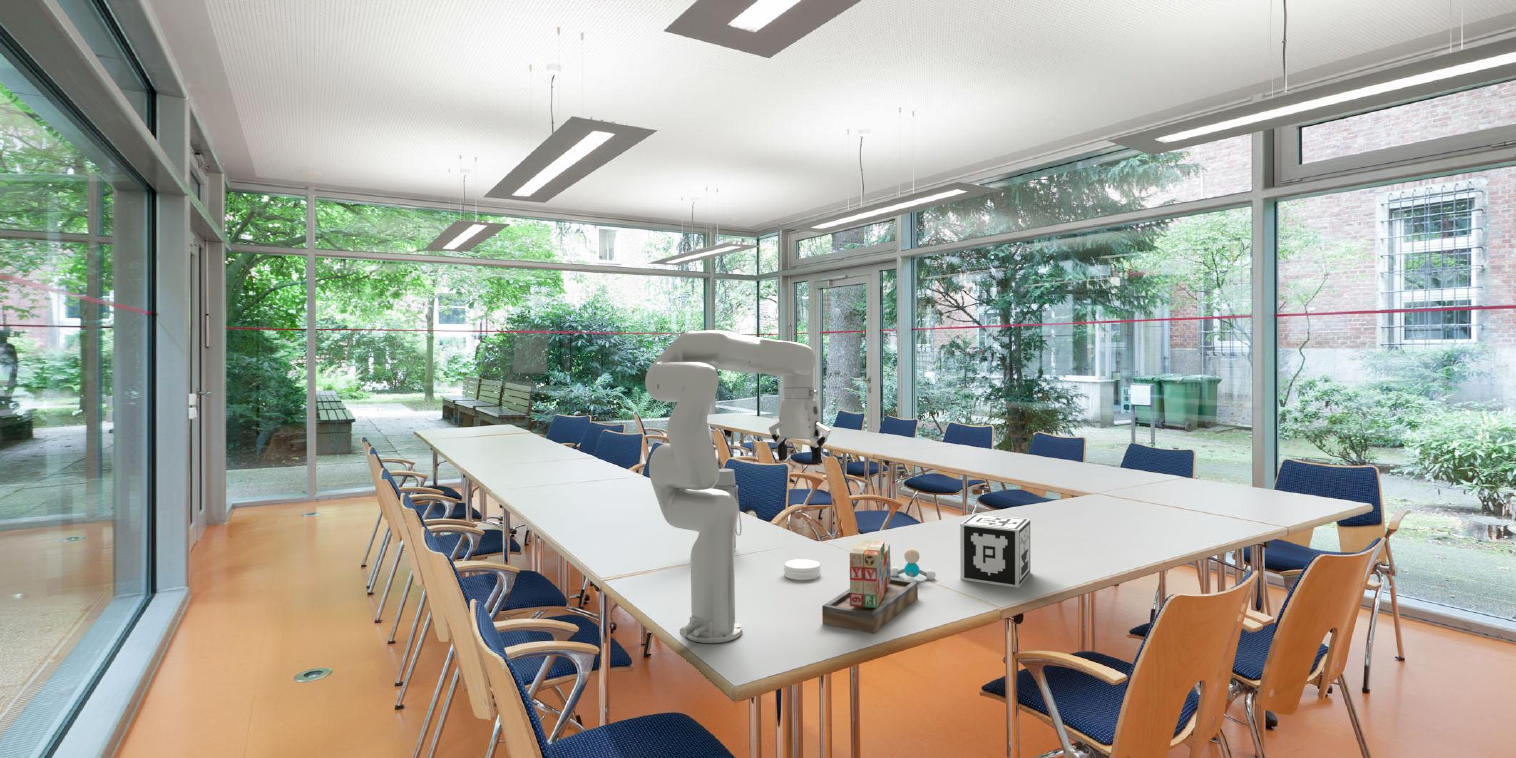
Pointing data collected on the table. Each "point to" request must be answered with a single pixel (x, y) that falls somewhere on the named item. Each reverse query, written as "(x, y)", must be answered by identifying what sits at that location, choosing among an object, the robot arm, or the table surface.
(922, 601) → the table surface
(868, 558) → the stack of blocks
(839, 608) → the wooden tray
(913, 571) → the molecule model
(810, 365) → the robot arm
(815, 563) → the coaster
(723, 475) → the water bottle
